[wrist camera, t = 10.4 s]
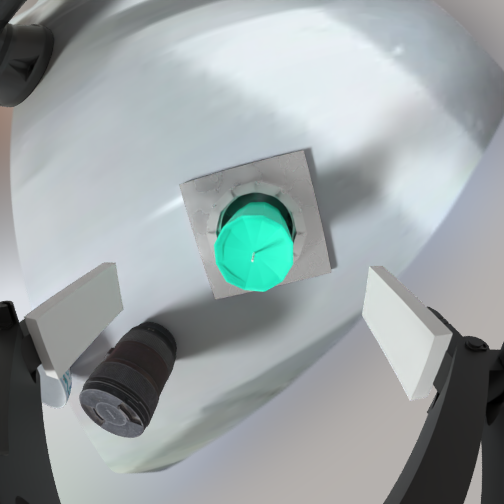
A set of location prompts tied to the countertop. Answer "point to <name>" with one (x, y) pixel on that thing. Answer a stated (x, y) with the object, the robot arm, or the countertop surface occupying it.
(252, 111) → the countertop surface
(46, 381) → the chinaware
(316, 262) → the duct flange
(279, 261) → the candle
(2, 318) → the robot arm
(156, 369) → the camera lens
